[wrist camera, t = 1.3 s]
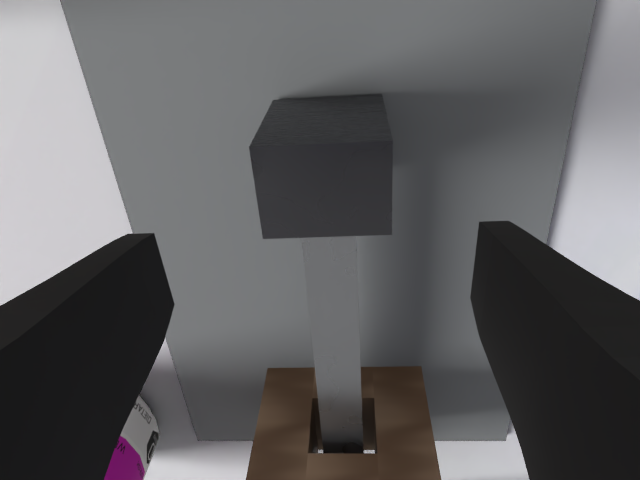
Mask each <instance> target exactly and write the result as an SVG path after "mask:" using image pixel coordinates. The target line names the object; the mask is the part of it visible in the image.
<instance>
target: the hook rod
mask: <svg viewBox="0 0 640 480" xmlns="http://www.w3.org/2000/svg"><path fill="white" fill-rule="evenodd" d="M249 151H250V158H251V164H252V171H253V178H254V184H255V191H256V197H257V204H258V210H259V217H260V224H261V230H262V237H263V239H281V238H301V240H302V250H303V259H304V269H305V279H306V288H307V298H308V308H309V317H310V327H311V337H312V347H313V356H314V366H315V376H316V385H317V395H318V405H319V414H320V424H321V434H322V444H323V453H343V454H364V452H363V423H362V393H361V364H360V335H359V305H358V276H357V247H356V236H373V235H392V175H393V139H392V135H391V130H390V126H389V122H388V118H387V113H386V109H385V105H384V101H383V96H382V94H369V95H351V96H334V97H316V98H298V99H280V100H273V101H272V103H271V105H270V107H269V109H268V111H267V113H266V115H265V117H264V119H263V121H262V123H261V125H260V127H259V129H258V131H257V133H256V134H255V136H254V138H253V140H252V142H251V144H250V146H249Z"/></svg>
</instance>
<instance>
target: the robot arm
mask: <svg viewBox="0 0 640 480" xmlns="http://www.w3.org/2000/svg"><path fill="white" fill-rule="evenodd" d="M470 299H471V304H472V308H473V313H474V317H475V321H476V326H477V330H478V334H479V337H480V340H481V343H482V346H483V348H484V351H485V353H486V356H487V359H488V361H489V364H490V367H491V369H492V372H493V374H494V377H495V379H496V382H497V385H498V387H499V390H500V392H501V395H502V397H503V400H504V403H505V405H506V408H507V410H508V413H509V415H510V418H511V421H512V423H513V426H514V428H515V431H516V434H517V437H518V440H519V443H520V446H521V449H522V453H523V457H524V460H525V464H526V468H527V472H528V475H529V479H530V480H640V301H639V300H637V299H635V298H634V297H632V296H630V295H628V294H626V293H624V292H623V291H621V290H619V289H617V288H616V287H614V286H612V285H610V284H608V283H607V282H605V281H603V280H601V279H600V278H598V277H596V276H595V275H593V274H591V273H590V272H588V271H586V270H585V269H583V268H582V267H580V266H578V265H577V264H575V263H574V262H572V261H570V260H569V259H567V258H566V257H564V256H563V255H561V254H560V253H558V252H557V251H555V250H554V249H552V248H551V247H549V246H548V245H546V244H545V243H543V242H542V241H540V240H539V239H537V238H536V237H534V236H533V235H531V234H530V233H528V232H527V231H525V230H523V229H522V228H520V227H519V226H517V225H515V224H514V223H512V222H510V221H484V222H479V227H478V236H477V244H476V253H475V261H474V270H473V278H472V287H471V295H470ZM174 305H175V304H174V300H173V297H172V293H171V290H170V286H169V283H168V279H167V276H166V272H165V269H164V266H163V262H162V259H161V255H160V252H159V248H158V245H157V241H156V238H155V234H154V233H139V234H127V235H125V236H122V237H120V238H118V239H116V240H114V241H112V242H111V243H109V244H107V245H105V246H103V247H102V248H100V249H98V250H97V251H95V252H93V253H91V254H90V255H88V256H86V257H85V258H83V259H81V260H80V261H78V262H76V263H75V264H73V265H71V266H70V267H68V268H66V269H65V270H63V271H61V272H60V273H58V274H56V275H55V276H53V277H51V278H50V279H48V280H46V281H44V282H42V283H41V284H39V285H37V286H35V287H34V288H32V289H30V290H28V291H26V292H25V293H23V294H21V295H19V296H17V297H16V298H14V299H12V300H10V301H8V302H7V303H5V304H3V305H1V306H0V480H104V478H105V475H106V472H107V469H108V467H109V464H110V461H111V458H112V455H113V452H114V449H115V447H116V444H117V442H118V440H119V437H120V435H121V432H122V430H123V428H124V425H125V423H126V421H127V419H128V417H129V415H130V413H131V411H132V409H133V406H134V404H135V402H136V400H137V398H138V396H139V394H140V392H141V390H142V387H143V385H144V383H145V381H146V379H147V377H148V375H149V373H150V370H151V368H152V366H153V364H154V362H155V360H156V357H157V355H158V353H159V351H160V349H161V346H162V344H163V342H164V339H165V336H166V333H167V329H168V326H169V323H170V319H171V316H172V312H173V308H174Z"/></svg>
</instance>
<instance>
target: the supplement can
mask: <svg viewBox="0 0 640 480" xmlns="http://www.w3.org/2000/svg"><path fill="white" fill-rule="evenodd" d="M159 435H160V433H159V429H158V426H157V422H156V418H155V417H154V416H153V414H152V413H151V410H150V408H149V407H148V406H147V404H146V403H145V402H144V401H143V399H142V398H141V397H140V395H139V396H138V398H137V400H136V402H135V404H134V406H133V409H132V411H131V413H130V415H129V417H128V419H127V421H126V423H125V425H124V428H123V430H122V432H121V435H120V437H119V440H118V442H117V444H116V447H115V449H114V452H113V455H112V458H111V461H110V464H109V467H108V469H107V472H106V475H105V478H104V480H144V477H145V475H146V472H147V469H148V467H149V464H150V462H151V459H152V456H153V454H154V451H155V449H156V445H157V442H158V439H159Z"/></svg>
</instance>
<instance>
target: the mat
mask: <svg viewBox="0 0 640 480" xmlns="http://www.w3.org/2000/svg"><path fill="white" fill-rule="evenodd" d="M596 1H597V0H60V2H61V5H62V8H63V11H64V14H65V18H66V21H67V24H68V27H69V30H70V34H71V37H72V40H73V43H74V46H75V50H76V53H77V56H78V59H79V62H80V66H81V69H82V72H83V75H84V78H85V82H86V85H87V88H88V91H89V94H90V98H91V101H92V104H93V107H94V110H95V113H96V117H97V120H98V123H99V126H100V129H101V133H102V136H103V139H104V142H105V145H106V149H107V152H108V155H109V158H110V161H111V165H112V168H113V171H114V174H115V177H116V181H117V184H118V187H119V190H120V193H121V197H122V200H123V203H124V206H125V209H126V213H127V216H128V219H129V222H130V225H131V229H132V232H133V234H139V233H154V234H155V238H156V241H157V245H158V248H159V252H160V255H161V259H162V262H163V266H164V269H165V272H166V276H167V279H168V283H169V286H170V290H171V293H172V297H173V300H174V304H175V305H174V308H173V312H172V316H171V319H170V323H169V326H168V329H167V333H166V336H165V337H166V340H167V344H168V347H169V350H170V353H171V356H172V360H173V363H174V366H175V369H176V372H177V376H178V379H179V382H180V385H181V388H182V392H183V395H184V398H185V401H186V404H187V408H188V411H189V414H190V417H191V420H192V424H193V427H194V430H195V433H196V436H197V440H198V441H254V436H255V430H256V425H257V420H258V415H259V410H260V405H261V399H262V394H263V389H264V384H265V379H266V374H267V368H310V367H315V366H314V356H313V347H312V337H311V327H310V317H309V308H308V298H307V288H306V279H305V269H304V259H303V250H302V240H301V238H281V239H263V237H262V230H261V224H260V217H259V210H258V204H257V197H256V191H255V184H254V178H253V171H252V164H251V158H250V151H249V146H250V144H251V142H252V140H253V138H254V136H255V134H256V133H257V131H258V129H259V127H260V125H261V123H262V121H263V119H264V117H265V115H266V113H267V111H268V109H269V107H270V105H271V103H272V101H273V100H280V99H298V98H316V97H334V96H351V95H369V94H382V96H383V101H384V105H385V109H386V113H387V118H388V122H389V126H390V130H391V135H392V139H393V175H392V235H373V236H356V247H357V276H358V305H359V335H360V364H361V367H400V366H421V368H422V373H423V379H424V385H425V391H426V396H427V402H428V408H429V413H430V419H431V425H432V430H433V436H434V441H506V437H507V432H508V427H509V423H510V415H509V413H508V410H507V408H506V405H505V403H504V400H503V397H502V395H501V392H500V390H499V387H498V385H497V382H496V379H495V377H494V374H493V372H492V369H491V367H490V364H489V361H488V359H487V356H486V353H485V351H484V348H483V346H482V343H481V340H480V337H479V334H478V330H477V326H476V321H475V317H474V313H473V308H472V304H471V299H470V295H471V287H472V278H473V270H474V261H475V253H476V244H477V236H478V227H479V222H484V221H510V222H512V223H514V224H515V225H517V226H519V227H520V228H522V229H523V230H525V231H527V232H528V233H530V234H531V235H533V236H534V237H536V238H537V239H539V240H540V241H542V242H543V243H545V244H546V243H547V239H548V234H549V229H550V224H551V219H552V214H553V209H554V205H555V200H556V195H557V190H558V185H559V180H560V176H561V171H562V166H563V161H564V156H565V151H566V146H567V142H568V137H569V132H570V127H571V122H572V117H573V113H574V108H575V103H576V98H577V93H578V88H579V84H580V79H581V74H582V69H583V64H584V59H585V54H586V50H587V45H588V40H589V35H590V30H591V25H592V21H593V16H594V11H595V6H596Z"/></svg>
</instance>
